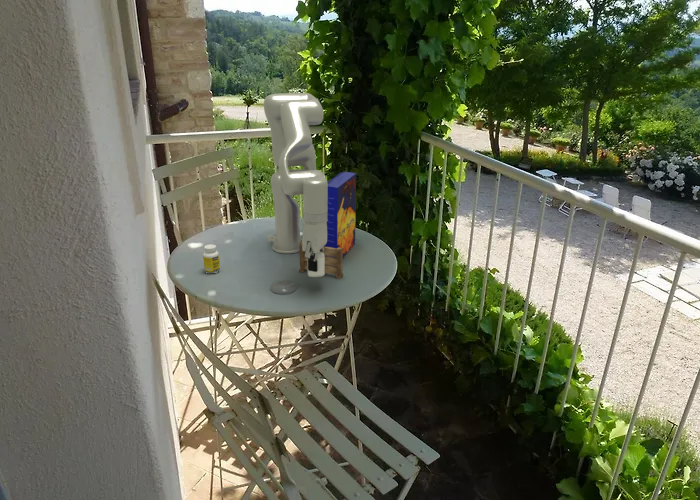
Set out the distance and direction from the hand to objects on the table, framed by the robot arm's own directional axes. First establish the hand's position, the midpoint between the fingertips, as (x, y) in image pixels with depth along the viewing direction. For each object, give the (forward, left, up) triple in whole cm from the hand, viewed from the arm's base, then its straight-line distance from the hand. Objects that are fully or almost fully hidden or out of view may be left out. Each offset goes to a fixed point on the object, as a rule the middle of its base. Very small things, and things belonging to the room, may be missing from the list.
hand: (316, 267), depth 166 cm
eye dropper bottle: (0, 0, -3) cm, 3 cm away
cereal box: (-4, +31, -8) cm, 33 cm away
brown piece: (-3, +11, -8) cm, 14 cm away
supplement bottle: (-40, -2, -8) cm, 41 cm away
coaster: (-10, -4, -8) cm, 14 cm away
